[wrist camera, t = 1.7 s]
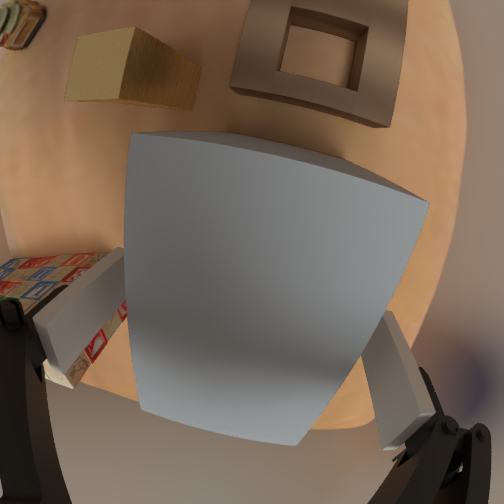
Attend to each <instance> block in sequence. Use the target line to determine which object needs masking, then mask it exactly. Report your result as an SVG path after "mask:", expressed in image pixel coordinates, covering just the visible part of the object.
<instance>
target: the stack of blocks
mask: <svg viewBox="0 0 504 504" xmlns="http://www.w3.org/2000/svg"><path fill="white" fill-rule="evenodd" d="M108 254H109V253H98V254H95V253H85V254H68V255H59V256H55V257H44V258H33V259H31V258H21V259H11V260H9V261H8V262H7V263H5V264H4V265H2V266H1V267H0V302H1V301H3V300H4V299H8V298H15V299H17V300H19V301H20V302H21V304H22V307H23V310H24V314H27V313H28V312H29V311H30V310H31V309H32V308H33V307H35V306H36V305H37V304H38V303H39V302H40V301H41V300H43V299H44V298H45V297H46V296H47V295H48V296H49V294H50V293H51V292H52V291H53V290H54V289H56V288H58V287H60V286H62V285H65V284H66V285H70V284H71V283H72V282H74V281H75V280H76V279H77V278H79V277H80V276H81V275H82V274H83V273H85V272H86V271H87V270H88V269H90V268H91V267H92V266H94V265H95V264H96V263H97V262H99V261H100V260H101V259H102V258H104V257H105V256H106V255H108ZM126 317H127V307H126V300H125V301H124V302H123V303H122V305H121V306H120V307H119V308H118V309H117V310H116V312H115V313H114V314H113V315H112V316H111V317H110V319H109V320H108V321H107V322H106V323H105V324H104V326H103V327H102V328H101V329H100V330H99V332H98V333H97V334H96V335H95V336H94V338H93V339H92V340H91V341H90V343H89V344H88V345H87V346H86V347H85V349H84V350H83V351H82V352H81V354H80V355H79V356H78V357H77V359H76V360H75V361H74V363H73V364H72V365H71V366H70V368H69V369H68V370H67V372H66V373H65V374H64V375H62V374H61V373H59V372H57V371H55V370H54V369H52V368H51V367H50V365H49V363H48V360H47V359H46V360H45V361H44V362H43V365H44V369H45V378H46V379H49V380H51V381H53V382H55V383H58V384H61V385H64V386H66V387H69V388H72V389H74V388H75V387H76V385H77V384H78V382H79V381H80V380H81V378H82V377H83V375H84V374H85V372H86V371H87V369H88V368H89V366H90V364H93V363H94V361H95V360H96V359H97V357H98V356H99V354H100V353H101V351H102V350H103V349H104V347H105V346H106V344H107V343H108V340H109V339H110V338H111V336H112V335H113V333H114V332H115V331H116V330H117V328H118V327H119V325H120V324H121V323H122V322H123V321H124V320H125V318H126Z"/></svg>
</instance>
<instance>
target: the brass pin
mask: <svg viewBox="0 0 504 504" xmlns="http://www.w3.org/2000/svg"><path fill="white" fill-rule="evenodd" d="M200 71H201V68H200V67H199V66H198V65H196V64H195V63H193V62H192V61H190V60H189V59H187V58H186V57H184V56H183V55H181V54H180V53H178V52H177V51H175V50H174V49H172V48H171V47H169V46H167V45H166V44H164V43H163V42H161V41H159V40H158V39H156V38H154V37H153V36H151V35H149V34H148V33H146V32H144V31H142V30H141V29H139V28H137V27H128V28H120V29H114V30H108V31H102V32H97V33H92V34H88V35H83V36H79V37H78V40H77V43H76V47H75V51H74V54H73V59H72V63H71V67H70V72H69V77H68V82H67V87H66V93H65V99H64V101H75V102H99V103H114V104H126V105H135V106H144V107H153V108H168V109H180V110H190V111H192V110H193V104H194V99H195V94H196V90H197V85H198V80H199V76H200Z"/></svg>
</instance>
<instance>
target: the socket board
mask: <svg viewBox="0 0 504 504" xmlns="http://www.w3.org/2000/svg"><path fill="white" fill-rule="evenodd" d="M407 13H408V0H251V2H250V5H249V9H248V13H247V16H246V20H245V24H244V28H243V32H242V35H241V39H240V43H239V47H238V51H237V56H236V60H235V64H234V68H233V73H232V77H231V82H230V87H231V88H232V89H233V90H235V91H236V92H237V93H238V94H241V95H247V96H253V97H259V98H265V99H270V100H275V101H280V102H284V103H289V104H293V105H298V106H302V107H306V108H310V109H314V110H317V111H321V112H325V113H328V114H332V115H335V116H339V117H342V118H345V119H348V120H351V121H354V122H358V123H361V124H363V125H366V126H369V127H372V128H387V127H390V124H391V120H392V115H393V111H394V106H395V101H396V95H397V90H398V84H399V79H400V72H401V66H402V59H403V52H404V44H405V35H406V25H407ZM290 25H294V26H299V27H304V28H309V29H313V30H317V31H321V32H325V33H329V34H333V35H336V36H340V37H343V38H346V39H349V40H353V41H356V42H357V44H356V49H355V55H354V60H353V66H352V71H351V76H350V81H349V86H348V89H347V88H343V87H340V86H337V85H333V84H330V83H326V82H323V81H319V80H315V79H311V78H307V77H303V76H299V75H294V74H290V73H285V72H280V68H281V64H282V59H283V55H284V50H285V46H286V42H287V37H288V33H289V29H290Z"/></svg>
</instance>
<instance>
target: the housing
mask: <svg viewBox="0 0 504 504" xmlns="http://www.w3.org/2000/svg"><path fill="white" fill-rule="evenodd" d="M429 205H430V203H429V202H427V201H425V200H424V199H422V198H420V197H418V196H417V195H415V194H413V193H411V192H410V191H408V190H406V189H404V188H402V187H400V186H398V185H396V184H395V183H393V182H391V181H389V180H387V179H385V178H383V177H381V176H379V175H377V174H375V173H373V172H371V171H369V170H367V169H364V168H362V167H360V166H358V165H356V164H354V163H352V162H349V161H347V160H345V159H341V158H338V157H334V156H331V155H327V154H324V153H320V152H317V151H313V150H309V149H305V148H301V147H297V146H293V145H289V144H285V143H280V142H276V141H271V140H266V139H262V138H257V137H252V136H246V135H241V134H235V133H230V132H221V131H165V132H143V133H131V138H130V146H129V155H128V165H127V177H126V192H125V213H124V272H125V293H126V307H127V319H128V329H129V339H130V347H131V354H132V362H133V368H134V375H135V381H136V386H137V392H138V397H139V402H140V407H141V410H144V411H147V412H149V413H152V414H155V415H158V416H161V417H164V418H167V419H170V420H173V421H176V422H179V423H183V424H186V425H189V426H193V427H197V428H200V429H205V430H208V431H212V432H216V433H220V434H225V435H229V436H235V437H239V438H244V439H249V440H255V441H262V442H268V443H275V444H283V445H291V446H296V445H297V444H298V443H299V441H300V440H301V439H302V438H303V437H304V435H305V434H306V433H307V432H308V430H309V429H310V428H311V426H312V425H313V424H314V423H315V421H316V420H317V419H318V417H319V416H320V415H321V413H322V412H323V411H324V409H325V408H326V406H327V405H328V404H329V402H330V401H331V399H332V398H333V397H334V395H335V394H336V392H337V391H338V389H339V388H340V386H341V385H342V383H343V382H344V380H345V379H346V377H347V376H348V374H349V373H350V371H351V370H352V368H353V366H354V365H355V363H356V361H357V360H358V358H359V357H360V355H361V353H362V352H363V350H364V348H365V346H366V345H367V343H368V341H369V340H370V338H371V336H372V334H373V332H374V331H375V329H376V327H377V325H378V323H379V321H380V320H381V318H382V316H383V314H384V312H385V310H386V308H387V306H388V304H389V302H390V300H391V298H392V296H393V294H394V292H395V290H396V288H397V285H398V283H399V281H400V279H401V277H402V275H403V272H404V270H405V268H406V265H407V263H408V261H409V258H410V256H411V254H412V251H413V249H414V246H415V244H416V241H417V239H418V236H419V233H420V231H421V228H422V225H423V222H424V220H425V217H426V214H427V211H428V208H429Z"/></svg>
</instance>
